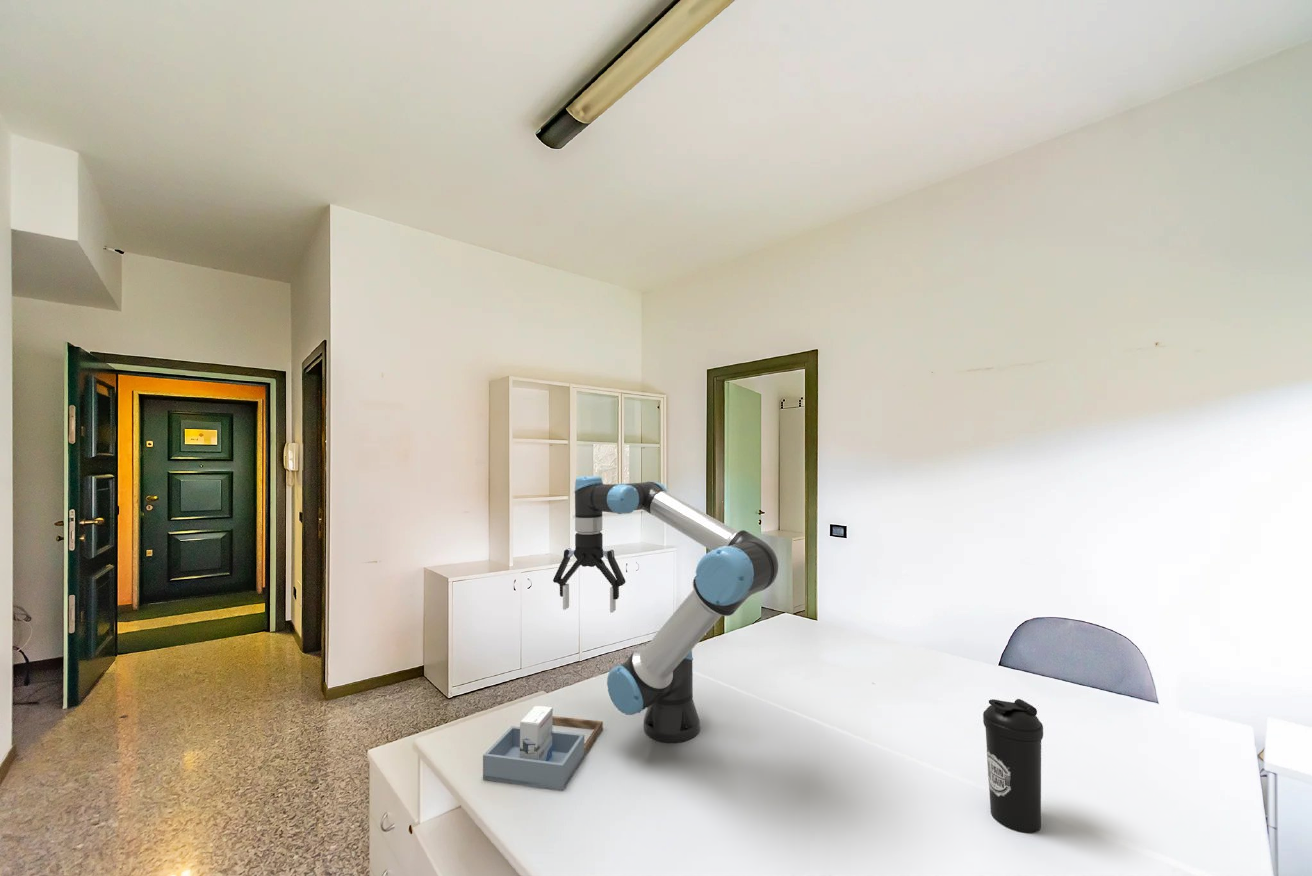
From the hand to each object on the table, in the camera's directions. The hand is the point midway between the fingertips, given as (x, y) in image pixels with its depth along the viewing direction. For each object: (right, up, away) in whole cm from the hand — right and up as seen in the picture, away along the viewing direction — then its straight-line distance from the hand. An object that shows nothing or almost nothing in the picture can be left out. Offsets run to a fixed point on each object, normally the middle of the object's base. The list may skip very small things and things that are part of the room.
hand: (589, 609), depth 148 cm
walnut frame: (-7, -32, -6) cm, 33 cm away
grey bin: (-10, -31, -20) cm, 38 cm away
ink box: (-10, -30, -20) cm, 38 cm away
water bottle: (+91, -30, -39) cm, 104 cm away
